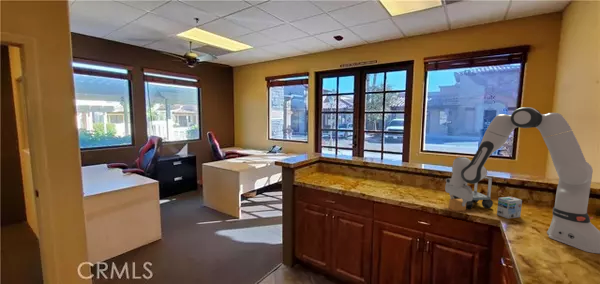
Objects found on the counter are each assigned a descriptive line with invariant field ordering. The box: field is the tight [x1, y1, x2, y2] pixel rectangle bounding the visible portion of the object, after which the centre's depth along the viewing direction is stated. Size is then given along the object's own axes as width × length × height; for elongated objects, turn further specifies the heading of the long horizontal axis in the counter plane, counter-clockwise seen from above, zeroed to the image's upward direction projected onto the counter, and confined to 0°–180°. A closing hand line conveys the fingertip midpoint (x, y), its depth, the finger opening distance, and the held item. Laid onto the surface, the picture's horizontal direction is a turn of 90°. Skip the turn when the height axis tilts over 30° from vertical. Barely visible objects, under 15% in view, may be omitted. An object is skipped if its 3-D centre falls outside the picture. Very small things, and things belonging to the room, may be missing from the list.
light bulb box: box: [496, 196, 523, 219], centre depth 157 cm, size 11×7×11 cm, turn 105°
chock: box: [448, 198, 467, 212], centre depth 168 cm, size 5×8×6 cm, turn 97°
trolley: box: [453, 175, 494, 210], centre depth 174 cm, size 13×20×20 cm, turn 97°
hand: (457, 203), depth 168 cm, fingers open, 8 cm apart
